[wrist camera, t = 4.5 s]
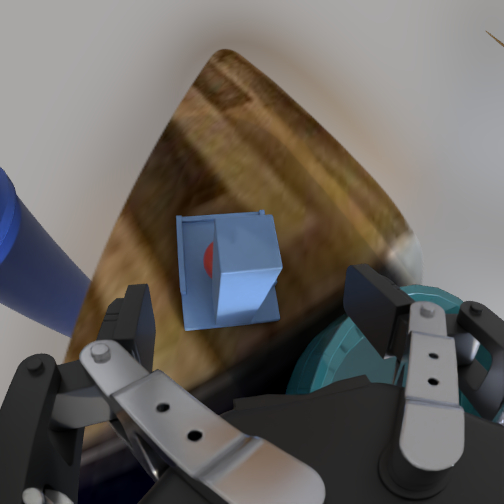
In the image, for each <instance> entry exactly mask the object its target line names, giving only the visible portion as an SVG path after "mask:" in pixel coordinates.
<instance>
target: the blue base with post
mask: <svg viewBox="0 0 504 504" xmlns="http://www.w3.org/2000/svg"><path fill="white" fill-rule="evenodd" d="M176 225H177V246H178V264H179V279H180V291H181V295H182V307H183V318H184V329H185V331H189V330H200V329H211V328H221V327H230V326H240V325H249V324H257V323H265V322H273V321H279V320H280V314H279V308H278V302H277V297H276V291H275V285H276V284H277V277H278V275H279V273H280V272H281V270H282V268H283V267H282V261H281V256H280V251H279V245H278V240H277V235H276V230H275V225H274V220H273V216H272V215H265V212H264V210H259V212H246V213H230V214H216V215H202V216H189V217H182V216H176ZM211 242H213V266H212V279H211V278H210V277H209V276H208V274H207V273H206V271H205V268H204V264H203V258H204V253H205V250H206V249H207V247H208V246H209V244H210V243H211Z"/></svg>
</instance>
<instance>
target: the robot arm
mask: <svg viewBox="0 0 504 504" xmlns="http://www.w3.org/2000/svg"><path fill="white" fill-rule="evenodd" d="M343 305H344V310H345V312H346V314H347V315H348V316H349V317H350V318H351V320H352V321H353V322H354V323H355V325H356V326H357V327H358V328H359V330H360V331H361V332H362V333H363V335H364V336H365V337H366V338H367V340H368V341H369V342H370V343H371V345H372V346H373V347H374V348H375V350H376V351H377V352H378V353H379V355H380V356H381V357H382V359H383V360H384V359H387V358H391V357H395V356H396V361H395V364H394V370H393V375H392V381H391V384H387V383H371V382H370V380H369V379H368V377H367V376H366V374H364V375H360V376H356V377H352V378H348V379H344V380H339V381H336V382H333V383H331V384H329V385H327V386H325V387H322V388H320V389H318V390H316V391H313V392H311V393H309V394H303V395H284V394H266V395H260V396H253V397H245V398H238V399H233V404H234V409H233V410H231V411H228V412H226V413H223V414H221V415H219V416H218V415H217V414H216V413H214V412H213V411H212V410H210V409H209V408H208V407H206V406H205V405H204V404H202V403H201V402H200V401H198V400H197V399H196V398H195V397H193V396H192V395H191V394H190V393H188V392H187V391H186V390H185V389H183V388H182V387H181V386H180V385H178V384H177V383H176V382H175V381H174V380H172V379H171V378H170V377H169V376H168V375H166V374H165V373H164V372H163V371H161V370H159V369H157V370H155V371H153V372H152V365H153V354H154V344H155V334H156V330H155V320H154V314H153V309H152V303H151V298H150V292H149V287H148V284H137V285H128V288H127V291H126V294H125V297H124V298H117V299H115V300H114V301H113V302H112V303H111V304H110V305H109V306H108V309H107V312H106V315H105V317H104V320H103V321H104V322H103V323H102V325H101V328H100V331H99V334H98V337H97V339H96V341H94V342H92V343H90V344H88V345H87V346H85V347H84V348H83V349H82V351H81V352H80V356H79V358H80V359H79V360H77V361H73V362H69V363H65V364H61V365H57V364H56V362H55V360H54V358H53V357H52V356H50V355H48V354H35V355H32V356H30V357H28V358H26V359H25V360H23V361H22V362H21V363H20V365H19V366H18V368H17V370H16V373H15V375H14V377H13V379H12V382H11V384H10V386H9V389H8V391H7V394H6V396H5V399H4V401H3V404H2V406H1V409H0V504H77V498H78V483H79V472H80V461H81V452H82V444H83V436H84V429H85V426H89V425H93V424H97V423H101V422H105V421H107V423H108V424H109V425H110V426H111V428H112V429H113V430H114V431H115V433H116V434H117V435H118V436H119V438H120V439H121V440H122V441H123V443H124V444H125V445H126V446H127V447H128V448H129V450H130V451H131V452H132V453H133V454H134V455H135V457H136V458H137V459H138V460H139V462H140V463H141V465H142V466H143V468H144V469H145V470H146V472H147V473H148V474H149V475H150V476H151V478H152V479H153V480H154V481H155V482H156V483H155V484H154V486H153V487H152V488H151V489H150V490H149V491H148V492H147V494H146V495H145V496H144V497H143V498H142V499H141V500H140V501H139V503H138V504H504V321H503V320H502V319H501V318H499V317H498V316H497V315H496V314H495V313H493V312H492V311H491V310H490V309H488V308H487V307H486V306H484V305H482V304H480V303H478V302H473V301H466V302H463V303H462V304H461V305H460V309H459V312H458V314H445V311H444V310H443V308H441V307H440V306H439V305H437V304H435V303H432V302H428V301H417V302H416V301H415V300H414V299H412V298H411V297H410V296H409V295H408V294H406V293H405V292H404V291H403V290H401V289H400V288H399V287H398V286H397V285H395V283H393V282H392V281H391V280H390V279H389V278H387V277H385V276H382V275H380V274H378V273H377V272H376V271H375V270H374V269H372V268H371V267H370V266H369V265H367V264H358V265H350V266H349V267H348V268H347V272H346V281H345V289H344V297H343ZM480 344H481V345H482V346H483V347H484V348H485V349H486V350H487V351H488V352H489V353H490V355H491V358H492V363H491V366H490V368H489V370H488V371H487V370H486V369H485V368H484V367H483V366H482V365H481V364H480V363H479V362H478V361H477V360H476V359H475V356H476V353H477V351H478V348H479V346H480ZM458 388H459V389H460V391H461V392H462V393H463V394H464V396H465V397H466V398H467V399H468V401H469V402H470V403H471V404H472V406H473V407H474V408H475V409H476V411H477V412H478V413H479V415H480V416H481V417H482V418H481V417H478V416H475V415H472V414H470V413H467V412H464V409H463V407H461V406H460V405H459V391H458Z"/></svg>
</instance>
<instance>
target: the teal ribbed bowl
mask: <svg viewBox="0 0 504 504" xmlns="http://www.w3.org/2000/svg"><path fill="white" fill-rule="evenodd" d="M399 288H400V289H401V290H403V291H404V292H405V293H406V294H408V295H409V296H410V297H411V298H412V299H414V300H415V301H416V302H417V301H428V302H432V303H435V304H437V305H439V306H440V307H441V308H443V310H444V311H445V314H458V312H459V309H460V305H461V304H462V303H463V301H462V300H461V299H459V298H458V297H456V296H454V295H452V294H450V293H448V292H446V291H444V290H441V289H439V288H435V287H428V286H423V285H416V284H415V285H409V286H403V287H399ZM475 359H476V360H477V361H478V362H479V363H480V364H481V365H482V366H483V367H484V368H485V369H486V370H487V371H488V370H489V368H490V366H491V363H492V358H491V355H490V353H489V352H488V351H487V350H486V349H485V348H484V347H483V346H482V345H481V344H480V346H479V348H478V351H477V353H476V356H475ZM395 361H396V356H395V357H391V358H387V359H384V360H383V359H382V357H381V356H380V355H379V353H378V352H377V351H376V350H375V348H374V347H373V346H372V345H371V343H370V342H369V341H368V340H367V338H366V337H365V336H364V335H363V333H362V332H361V331H360V330H359V328H358V327H357V326H356V325H355V323H354V322H353V321H352V320H351V318H350V317H349V316H348V315H347V314H344V315H343V316H341V317H339V318H338V319H336V320H334V321H333V322H331V323H330V324H329V325H328V326H327V327H326V328H325V329H324V330H322V331H321V332H320V333H319V334H318V335H317V336H315V337H314V338H313V339H312V340H311V342H310V343H309V345H308V346H307V348H306V349H305V351H304V352H303V353H302V355H301V356H300V358H299V359H298V361H297V363H296V365H295V368H294V370H293V373H292V376H291V378H290V381H289V384H288V386H287V390H286V395H303V394H309V393H311V392H313V391H316V390H318V389H320V388H322V387H325V386H327V385H329V384H331V383H333V382H336V381H339V380H344V379H348V378H352V377H356V376H360V375H364V374H366V376H367V377H368V379H369V380H370V382H371V383H387V384H391V381H392V375H393V370H394V364H395ZM458 391H459V405H460V406H461V407H463V409H464V412H467V413H470V414H472V415H475V416H478V417H481V416H480V415H479V413H478V412H477V411H476V409H475V408H474V407H473V406H472V404H471V403H470V402H469V401H468V399H467V398H466V397H465V396H464V394H463V393H462V392H461V391H460V389H459V388H458ZM481 418H482V417H481Z"/></svg>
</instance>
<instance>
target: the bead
mask: <svg viewBox="0 0 504 504" xmlns="http://www.w3.org/2000/svg"><path fill="white" fill-rule="evenodd" d="M203 264H204V268H205V271H206V273H207V274H208V276H209V277H210V278H211V279H212V266H213V242H211V243H210V244H209V246H208V247H207V249H206V250H205V253H204V258H203Z"/></svg>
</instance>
